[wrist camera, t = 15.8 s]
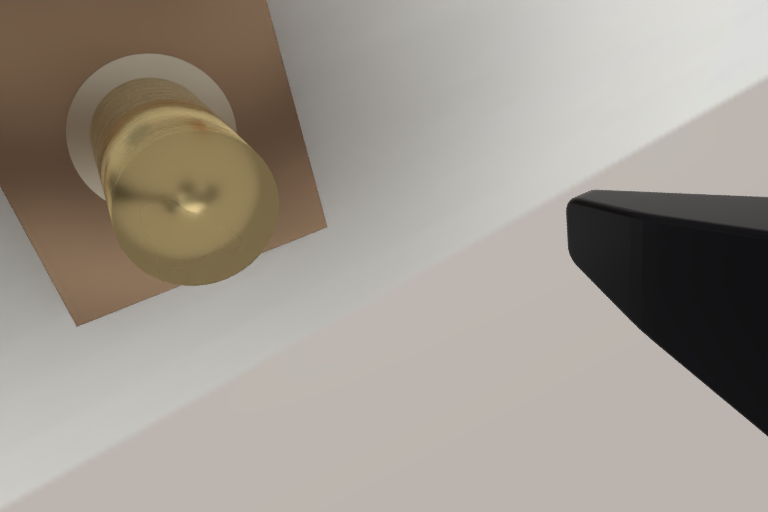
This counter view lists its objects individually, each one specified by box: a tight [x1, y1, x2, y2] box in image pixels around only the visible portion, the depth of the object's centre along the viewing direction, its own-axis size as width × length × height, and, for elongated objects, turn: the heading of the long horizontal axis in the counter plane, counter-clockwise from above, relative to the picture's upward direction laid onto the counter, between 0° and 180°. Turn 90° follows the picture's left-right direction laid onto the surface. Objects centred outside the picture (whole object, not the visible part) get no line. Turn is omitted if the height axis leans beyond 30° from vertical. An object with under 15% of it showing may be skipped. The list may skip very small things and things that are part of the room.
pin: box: [90, 77, 279, 286], centre depth 15 cm, size 3×3×6 cm
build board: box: [0, 0, 327, 326], centre depth 18 cm, size 9×8×1 cm
